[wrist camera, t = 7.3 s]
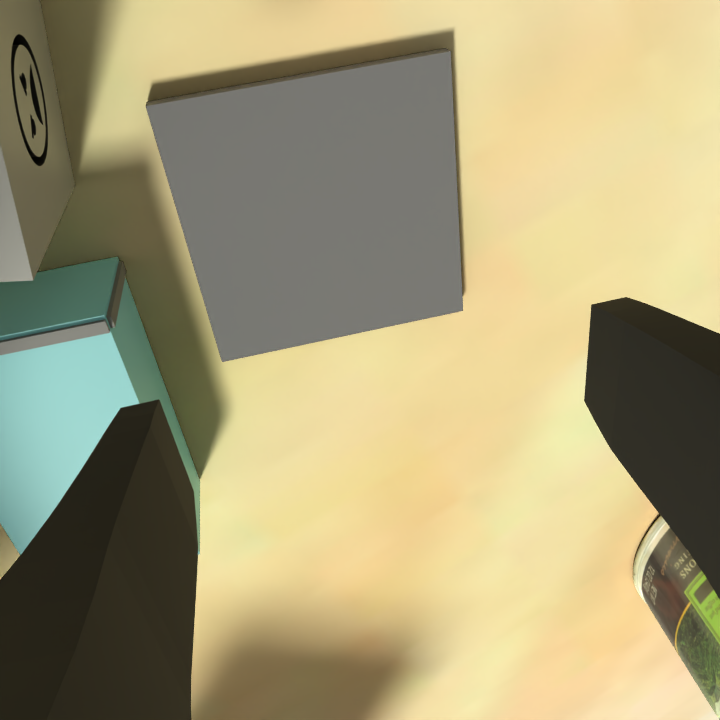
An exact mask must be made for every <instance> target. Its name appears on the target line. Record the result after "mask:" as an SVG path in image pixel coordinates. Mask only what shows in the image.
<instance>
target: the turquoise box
mask: <svg viewBox="0 0 720 720" xmlns="http://www.w3.org/2000/svg"><path fill="white" fill-rule="evenodd" d="M125 276H126V269H125V266H124V263H123V261H119V258H118V257H112V258H107V259H102V260H97V261H92V262H87V263H82V264H77V265H72V266H67V267H62V268H57V269H52V270H47V271H42V272H37V273H36V276H35V278H34V280H33V281H12V282H0V524H1V525H2V527H3V529H4V530H5V532H6V533H7V535H8V536H9V538H10V540H11V541H12V543H13V544H14V546H15V548H16V549H17V551H18V552H19V554H20V555H21V554H22V553H23V551H24V550H25V549H26V547H27V546H28V545H29V543H30V542H31V541H32V539H33V538H34V536H35V535H36V534H37V532H38V531H39V530H40V528H41V527H42V526H43V524H44V523H45V522H46V520H47V519H48V518H49V516H50V515H51V514H52V512H53V511H54V509H55V508H56V506H57V505H58V503H59V502H60V500H61V499H62V497H63V496H64V494H65V493H66V491H67V490H68V488H69V487H70V485H71V484H72V482H73V481H74V479H75V478H76V476H77V475H78V474H79V472H80V470H81V469H82V467H83V466H84V464H85V463H86V461H87V459H88V458H89V456H90V455H91V453H92V452H93V450H94V448H95V447H96V445H97V444H98V442H99V440H100V439H101V437H102V436H103V434H104V432H105V431H106V429H107V428H108V426H109V425H110V423H111V422H112V420H113V419H114V417H115V416H116V414H117V413H118V411H119V410H120V408H122V407H126V406H131V405H135V404H140V403H145V402H149V401H154V400H158V399H159V400H160V402H161V405H162V408H163V410H164V413H165V416H166V418H167V421H168V424H169V426H170V429H171V432H172V434H173V437H174V439H175V442H176V445H177V447H178V450H179V453H180V455H181V458H182V461H183V463H184V466H185V469H186V471H187V474H188V477H189V479H190V482H191V485H192V487H193V490H194V498H195V510H196V522H197V537H198V554H200V480H199V477H198V474H197V471H196V469H195V466H194V463H193V461H192V458H191V455H190V452H189V450H188V447H187V444H186V441H185V439H184V436H183V433H182V430H181V428H180V425H179V422H178V420H177V417H176V414H175V411H174V409H173V406H172V403H171V400H170V398H169V395H168V392H167V390H166V387H165V384H164V381H163V379H162V376H161V373H160V370H159V368H158V365H157V362H156V359H155V357H154V354H153V351H152V349H151V346H150V343H149V340H148V338H147V335H146V332H145V329H144V327H143V324H142V321H141V319H140V316H139V313H138V310H137V308H136V305H135V302H134V299H133V297H132V294H131V291H130V288H129V286H128V283H127V280H126V278H125Z"/></svg>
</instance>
